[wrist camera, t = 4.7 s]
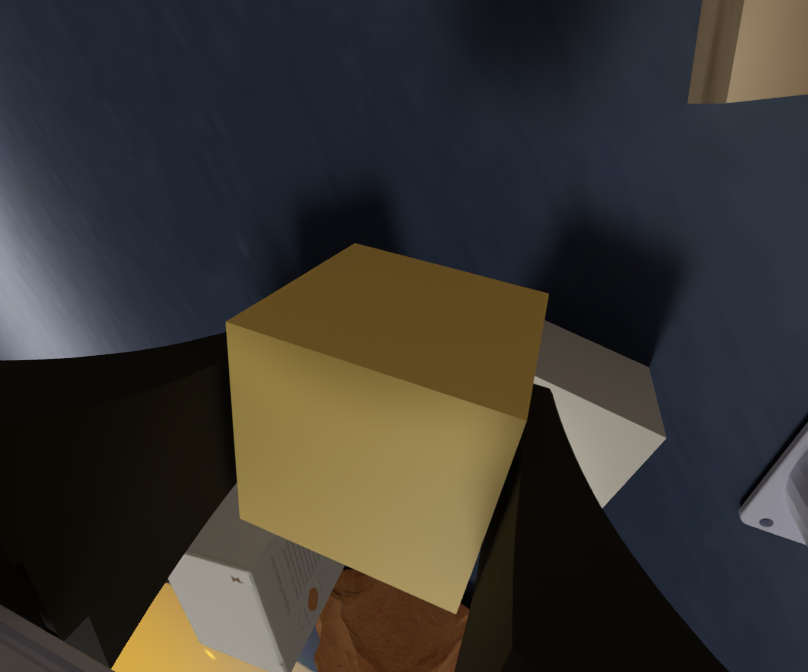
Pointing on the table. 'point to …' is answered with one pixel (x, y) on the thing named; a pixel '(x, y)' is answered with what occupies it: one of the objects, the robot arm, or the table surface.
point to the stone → (385, 629)
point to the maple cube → (750, 51)
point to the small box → (252, 589)
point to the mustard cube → (383, 413)
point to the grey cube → (600, 407)
